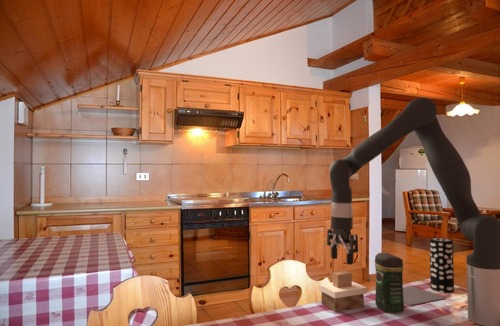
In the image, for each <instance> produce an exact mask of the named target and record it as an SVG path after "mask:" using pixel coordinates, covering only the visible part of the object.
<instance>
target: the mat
mask: <svg viewBox="0 0 500 326" xmlns="http://www.w3.org/2000/svg"><path fill="white" fill-rule="evenodd" d="M403 299H404V305H407V306H410V307H411V306H417V305H422V304H426V303H433V302H436V301H442V300H446V299H447V297H445V296H442V295H439V294H436V293H433V292H431V291H427V290H426V289H421V288H418V287H416V286H413V285H411V286H405V287H403Z"/></svg>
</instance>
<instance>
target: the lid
mask: <svg viewBox="0 0 500 326" xmlns="http://www.w3.org/2000/svg"><path fill="white" fill-rule="evenodd" d="M352 276H353V273H352V272H351V271H348V270H345V271H344V270H343V271H336V272H335V271H333V272H332V282H324V283H319V284H318V291H320V292H321V293H322V292H324V293H326V294H327V295H329V296H331V297H333V298H341V297H347V296H353V295H359V294H367V287H366V286H365V285H363V284H359V283H356V282H355V281H353V279H352V278H353V277H352Z"/></svg>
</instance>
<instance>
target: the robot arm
mask: <svg viewBox="0 0 500 326" xmlns="http://www.w3.org/2000/svg"><path fill="white" fill-rule="evenodd" d="M437 114H438V107H437V105H436V103H435V102H434V100H432V99H430V98H428V97H416V98H414V99H412V100H411V101H409V102H408V103H407V104H406V106H405V108H404V109H403V110H402V111H401V112H400V113H399V114H398V115H397V116H396V117H395V118H394V119H393V120H392V121H390V122H389V123H388V124H387V125H385V126H384V127H382V128H380V129H379V130H377V131H376V132H375V133H372V135H370V136H368V137H366V138H365V139H364V140H363V141H361V142H360V143H358V144H357V145H356V146H355V147H354V148H352V149H351V152H350V153H349V154H348V155H346V156H345V157H343V158H338V159H335V160H333V161H332V162H331V164H330V166H329V181H330V187H331V207H330V228H331V229H330V228H329V229H327V230H326V231H327V234H326V245H327V246H329V248H330V257H331V259H333V260H336V259H338V246H339V245H341V246H342V247H343V248H344V249H345V252H346V256H345V257H346V258H345V259H346V265H348V266H349V265H353V263H354V254H355V253H358V252H359V238H358V234H356V233H355V234H352V232H351V230H353V225H354V220H353V213H354V212H353V211H354V209H353V193H352V192H353V190H352V188H351V185H350V177H352V176H353V175H355V174H356V173H357V172H358V171H360V169H362V168H363V167H364V166H365V165H367V164H369V163H370V162H372V161H373V160H374V159H375V158H376V157H378V156H379V155H381V154H382V153H384V152H385V151H387V150H388V149H389V148H390V147H391V146H393V145H394V144H395V143H397V142H398V141H400V140H401V139H402V138H404V137H405V136H407V135H409V134H411V133H412V132H414V134H416V136H417V137H418V139H419V141H420V144H421V145H422V148H423V150H424V154H425V156H426V159H427V162H428V164H429V165H430V168H431V170H432V172H433V175H434V176H435V179H436V180H437V182H438V184H439V186H440V187H441V189H442V192H443V193H444V195H445V196H446V199H447V201H448V202H449V205H450V207H451V208H452V211H453V213H454V215H455V216H454V217H455V219H456V221H457V222H456V223H458V227H459V230H460V231H461V233H462V235H463V236H464V237H465V238H466V239H467V240H469V241H471V242H473V251H472V252H471V253H469V254H467V255H466V257H465V259H466V260H465V261H466V292H467V293H466V294H467V319H468V320H469V321H470V322H472V323H475V324H477V325H480V326H500V219H499V218H498V217H495V216H492V215H487V214H483V213H482V212H481V211H480V209H479V208H478V206H477V204H476V202H475V200H474V197H473V194H472V179H471V174H470V171H469V169H468V167H467V165H466V164H465V162H464V159H463V158H462V156H461V154H460V153H459V152H458V150H457V148H456V147H455V146H454V145H453V143H452V142H451V141H450V139H449V138H448V137H447V136H446V134H445V133H444V131H443V129H442V126H441V125H440V122H439V119H438V118H437V117H438V116H437Z"/></svg>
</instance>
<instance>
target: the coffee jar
mask: <svg viewBox="0 0 500 326" xmlns="http://www.w3.org/2000/svg"><path fill="white" fill-rule="evenodd" d="M374 267H375V305H376V306H377V308H379V309H381V310H382V311H384V312H387V313H392V314H399V313H401V312H402V313H403V312H404V311H405V303H404V299H403V288H404V287H403V286H404V285H403V272H404V260H403V259H402V258H401V257H399V256H396V255H393V254H391V253H390V252H378V253H377V254H376V255H375V256H374Z"/></svg>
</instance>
